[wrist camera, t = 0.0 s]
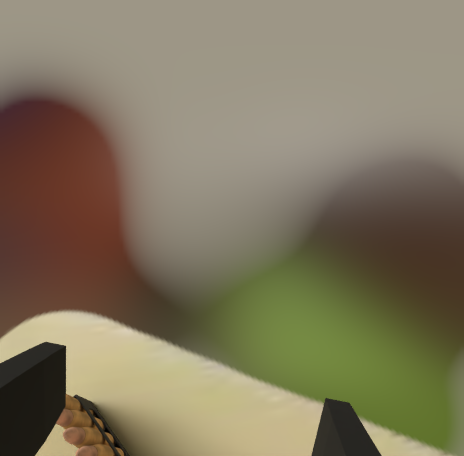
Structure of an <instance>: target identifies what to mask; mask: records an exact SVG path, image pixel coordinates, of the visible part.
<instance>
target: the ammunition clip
mask: <svg viewBox="0 0 464 456" xmlns="http://www.w3.org/2000/svg"><path fill="white" fill-rule="evenodd" d="M56 424H58V425H60V426H62V427H63V428H64V429H66V430H65V431H64V432H63V437H64V439H65V440H66V441H67V442H69V443H70V444H73V445H75V446H76V447H77V448H79V449H78V450H77V451H76V456H129V454H128V453H127V451H126V450H125V449H124V447H123V446H122V444H121V443H120V441H119V440H118V439H117V437H116V436H115V434H114V433H113V432H112V430H111V429H110V427H109V426H108V425H107V423H106V422H105V420H104V419H103V417H102V416H101V415H100V413H99V412H98V410H97V409H96V408H95V406H94V405H93V403H92V402H91V401H89V400H87V399H84V398H82V397H80V396H78V395H75V396H74V397H71V396H69V395H67V394H66V406H65V408H64V410H63V412H62V413H61V415H60V417H59V419H58V421H57V422H56Z"/></svg>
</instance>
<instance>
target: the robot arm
mask: <svg viewBox="0 0 464 456" xmlns="http://www.w3.org/2000/svg"><path fill="white" fill-rule="evenodd" d="M65 406H66V346H64V345H59V344H54V343H49V342H44V343H42V344H39V345H37V346H35V347H33V348H31V349H29V350H27V351H24V352H22V353H20V354H18V355H16V356H14V357H12V358H10V359H8V360H6V361H4V362H2V363H0V456H35V455H36V453H37V452H38V451H39V449H40V448H41V446H42V445H43V444H44V442H45V441H46V439H47V437H48V436H49V434H50V432H51V431H52V429H53V427H54V426H55V424H56V422H57V421H58V419H59V417H60V415H61V413H62V412H63V410H64V408H65ZM312 456H381V454H380V453H379V451H378V449H377V448H376V446H375V444H374V443H373V441H372V440H371V438H370V436H369V435H368V433H367V431H366V430H365V428H364V426H363V425H362V423H361V421H360V420H359V418H358V416H357V414H356V413H355V411H354V409H353V408H352V406H351V405H350V403H347V402H342V401H337V400H332V399H327V398H326V399H325V403H324V407H323V411H322V415H321V419H320V423H319V427H318V431H317V435H316V439H315V444H314V448H313V452H312Z"/></svg>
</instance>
